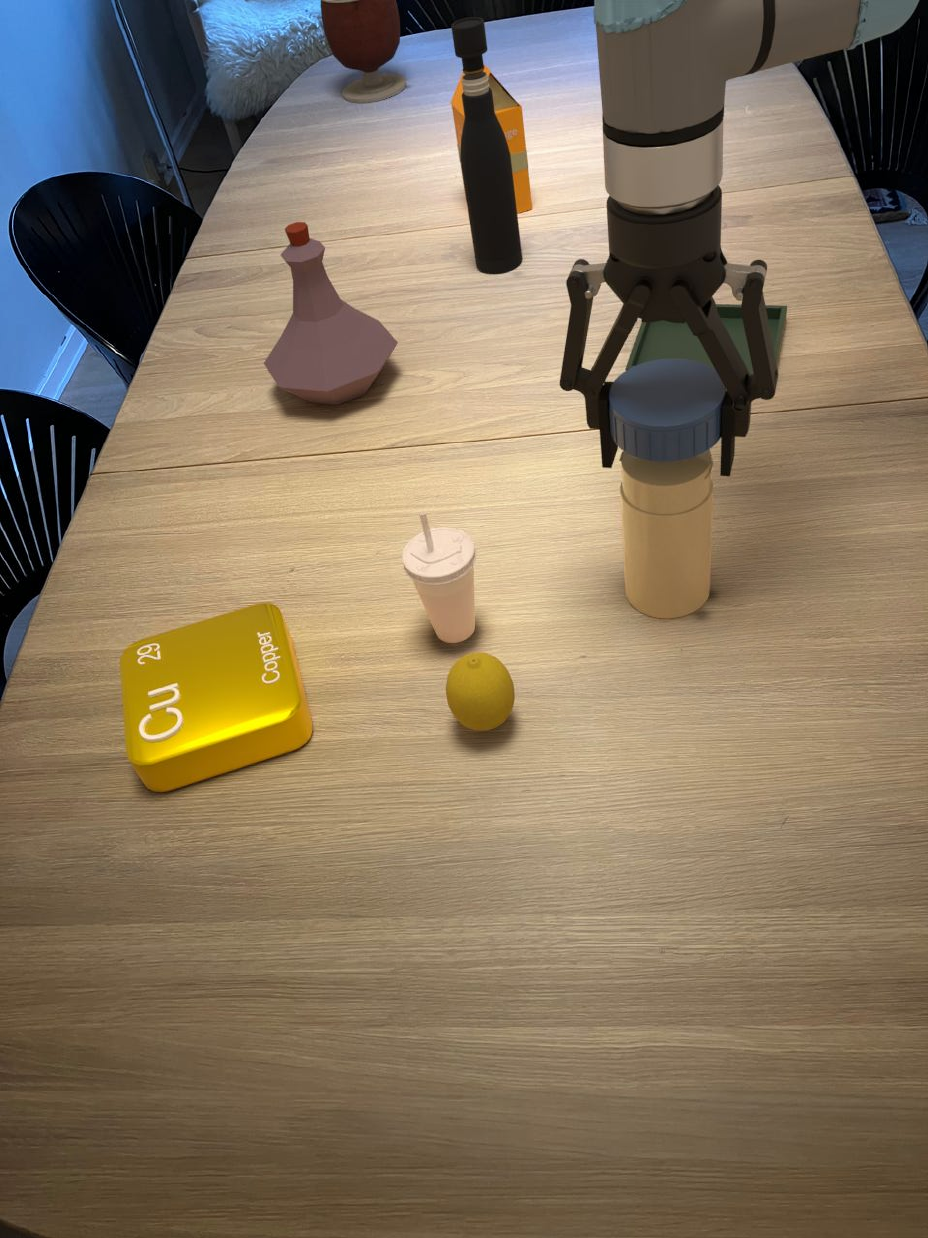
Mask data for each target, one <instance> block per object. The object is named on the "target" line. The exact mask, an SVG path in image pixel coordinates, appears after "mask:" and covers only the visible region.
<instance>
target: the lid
mask: <svg viewBox="0 0 928 1238" xmlns="http://www.w3.org/2000/svg"><path fill="white" fill-rule="evenodd" d="M612 382H613V384H612V386H611V388H610V391H609V407H610V409H609V415H610V430H611V435H612V437H613V440H614V442H615V443H616V444H617V446H618V449H620V450H621V451H622V452H623V451H624V452H626V453H628V454H629V455H631V456H634V457H636V458H640V459H643V460H648V461H655V462H673V461H680V460H685V459H689V458H692V457H695V456H697V455H700V454H702V453H704V452H706V451H707V450H711V449H712V448H713V447H714V446H716V444H718V442H719V441H721V435H722V407H723V402H724V399H725V396H726V388H725V386H724V384H723V382H722V381H721V379H720V377H719V375H718V373H717V372H716V371H715V370H714V369H713V368H711V367H709V366H707V365H705V364H703V363H700V362H696V361H692V360H687V359H659V360H653V361H649V362H645V363H642V364H639V365H637V366H634V367H632V368H630V369H628V370H627V371H626V370H625V371H623V372H622V373H621V374H619V376H617V378H615V380H614V381H612Z"/></svg>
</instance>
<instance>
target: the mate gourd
mask: <svg viewBox="0 0 928 1238" xmlns="http://www.w3.org/2000/svg"><path fill="white" fill-rule="evenodd" d="M320 15H321V16H320V17H321V23H322V26H323V32H324V35H325V38H326V41H327V43H328V47H329V49H330V51H331V53H332V55H333V57H334V58H335V59H336V60H337V61H338V62H339V63H340V64H341V65H342V66H343V67H344V68H346V69H349V70H354V71H359V72H363V77H362V78H358V79H357V80H354V81H353V82H351V83H349V84H347V85H346V86H345V87H344V88H343V90H342V97H343V99H344V100H345V101H347V102H350V103H353V104H367V103H368V104H369V103H376V102H380V101H384V100H387V99H390V98H392V97H394V95H395V96H396V94H397V95H399V94H400V93H401V91H402V90H403V89H404V90H405V89H406V87H407V84H408V83H407V79H406V77H404V76H402V75H401V74H397V73H396V74H395V73H381V72H380V71H379V69H380V68H381V67H383V66H384V65H386V64H387V63H388V62H390V61H392V59H394V57H395V55H396V53H397V51H398V49H399V46H400V43H401V19H400V14H399V8H398V4H397V0H320ZM404 90H403V91H404ZM403 91H402V92H403ZM391 96H392V97H391ZM389 97H390V98H389ZM386 98H387V99H386Z"/></svg>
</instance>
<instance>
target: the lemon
mask: <svg viewBox="0 0 928 1238" xmlns="http://www.w3.org/2000/svg"><path fill="white" fill-rule="evenodd" d="M445 694H446V702H447V706H448V707H449V709H450V711H451V713H452V716H453V717H454V718H455V719H456V720H457V721H458V722H459V723H460V724H461V725H462V726H464V727H465V728H468V729H469V730H473V731H477V732H479V731H480V732H486V731H491V730H493V729H496V728H497V727H499V726H501V725H502V724H503V723H504V722H505V721H506V720H507V719H508V718H509V716H510V715H511V713H512V711H513V708H514V704H515V698H516V697H515V684H514V681H513V679H512V676H511V674H510V671H509V670H508V669H507V667H506V666H505V664H504V663H503V662H502V661H501V660H500V659H498V658H497V657H495V655H492V654H490V653H487V652H471V653H468V654H465V655H463V656H461V657H460V658H459V659H457V660H456V661H455V662H454V664H453V665H452V666H451V667H450V670H449V672H448V674H447V678H446V684H445Z"/></svg>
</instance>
